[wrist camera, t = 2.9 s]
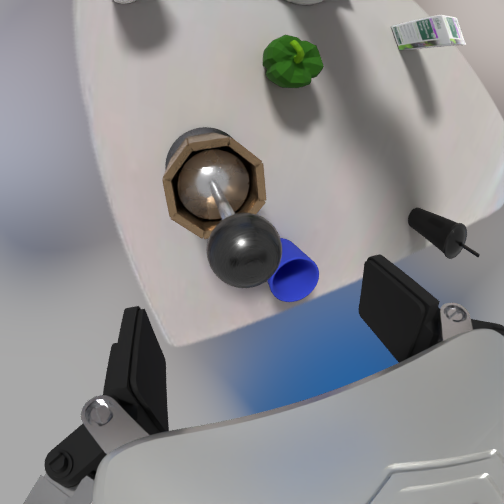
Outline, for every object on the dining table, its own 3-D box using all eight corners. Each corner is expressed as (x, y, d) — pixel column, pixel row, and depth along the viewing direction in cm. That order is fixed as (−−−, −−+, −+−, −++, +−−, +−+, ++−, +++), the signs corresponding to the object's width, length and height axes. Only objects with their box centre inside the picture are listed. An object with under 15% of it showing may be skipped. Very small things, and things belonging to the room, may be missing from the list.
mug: (246, 219, 48) (261, 242, 40) (304, 240, 53) (328, 265, 44) (228, 260, 51) (239, 290, 42) (285, 276, 55) (304, 306, 47)
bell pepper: (310, 86, 40) (340, 80, 32) (264, 95, 40) (285, 89, 31) (296, 41, 36) (324, 26, 28) (249, 49, 36) (267, 31, 27)
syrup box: (389, 25, 36) (440, 13, 24) (408, 26, 37) (458, 17, 24) (398, 50, 39) (451, 43, 26) (416, 49, 39) (467, 45, 27)
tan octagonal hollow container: (237, 122, 41) (269, 123, 26) (246, 206, 47) (278, 251, 32) (160, 134, 39) (145, 141, 24) (175, 219, 45) (173, 271, 30)
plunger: (244, 144, 29) (326, 179, 12) (251, 211, 32) (323, 311, 16) (172, 155, 27) (154, 206, 11) (184, 223, 31) (191, 341, 15)
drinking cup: (400, 233, 58) (462, 276, 41) (407, 201, 55) (475, 237, 37) (421, 232, 60) (481, 271, 42) (428, 202, 56) (492, 236, 39)
